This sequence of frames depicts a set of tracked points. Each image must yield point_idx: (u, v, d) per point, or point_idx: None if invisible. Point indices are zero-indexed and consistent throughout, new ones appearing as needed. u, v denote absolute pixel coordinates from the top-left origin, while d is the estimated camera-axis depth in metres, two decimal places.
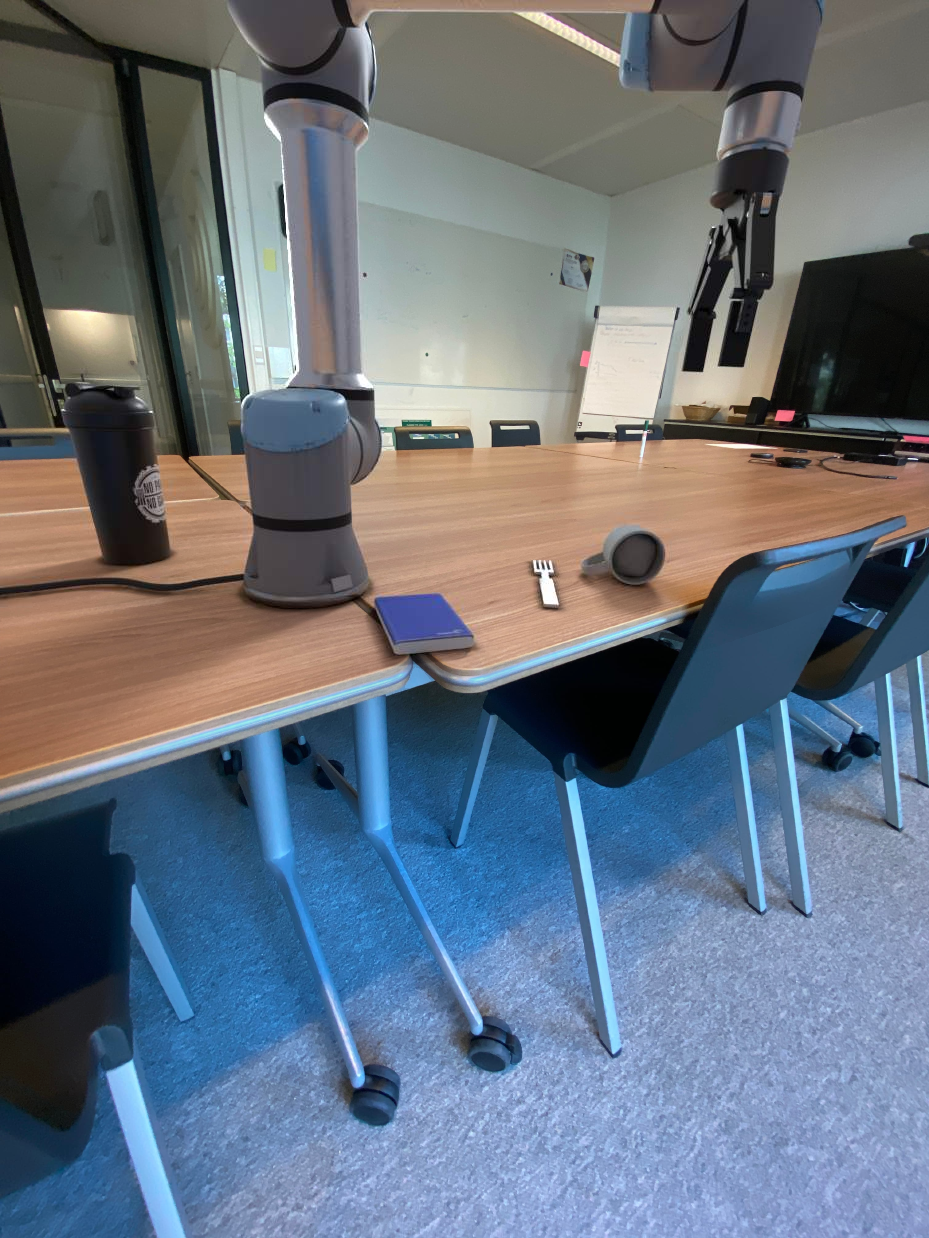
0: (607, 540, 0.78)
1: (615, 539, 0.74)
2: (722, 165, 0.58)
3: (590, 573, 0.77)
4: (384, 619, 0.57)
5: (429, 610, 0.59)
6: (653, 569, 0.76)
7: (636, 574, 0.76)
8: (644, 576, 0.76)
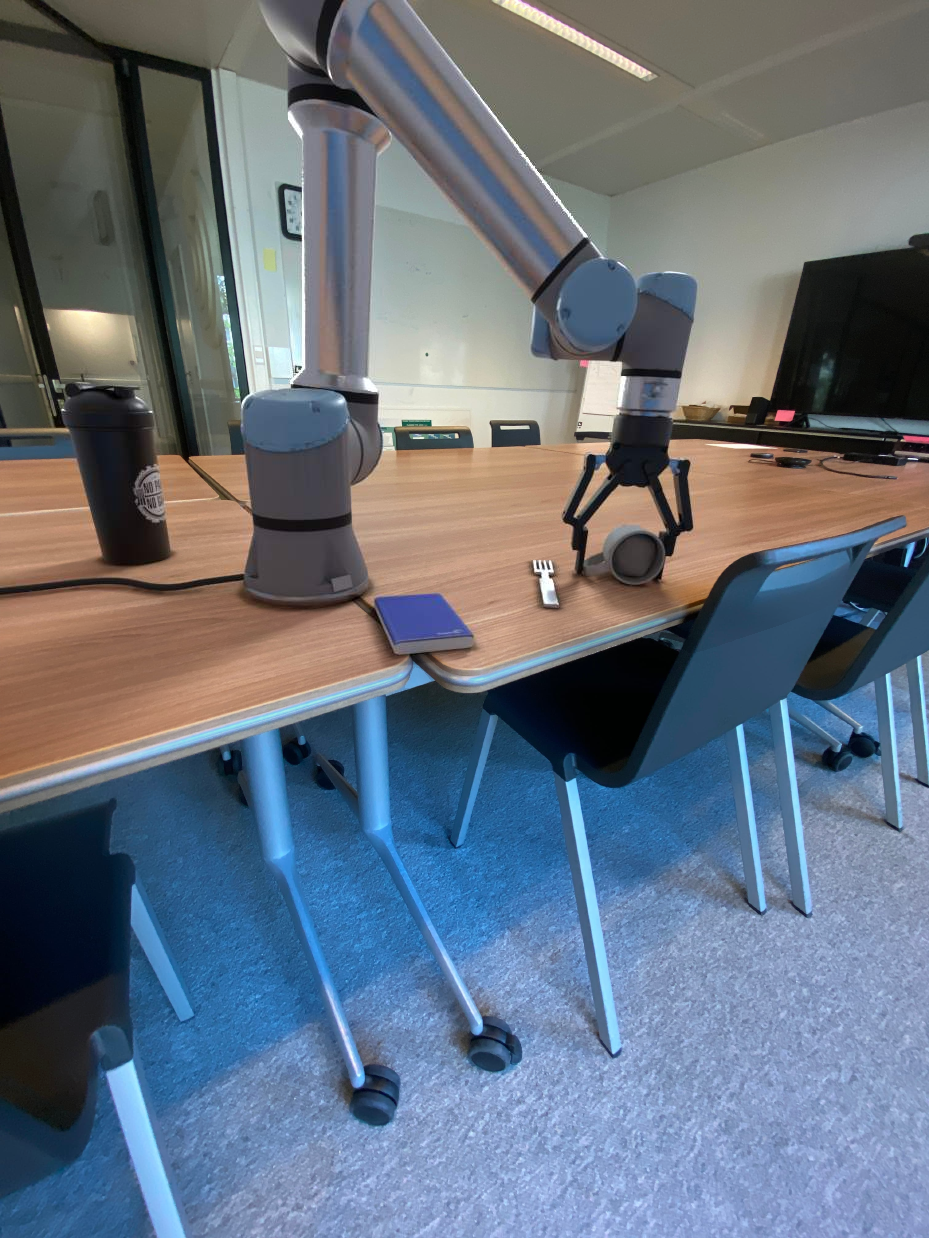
0: (607, 540, 0.78)
1: (615, 539, 0.74)
2: None
3: (590, 573, 0.77)
4: (384, 619, 0.57)
5: (429, 610, 0.59)
6: (653, 569, 0.76)
7: (636, 574, 0.76)
8: (644, 576, 0.76)
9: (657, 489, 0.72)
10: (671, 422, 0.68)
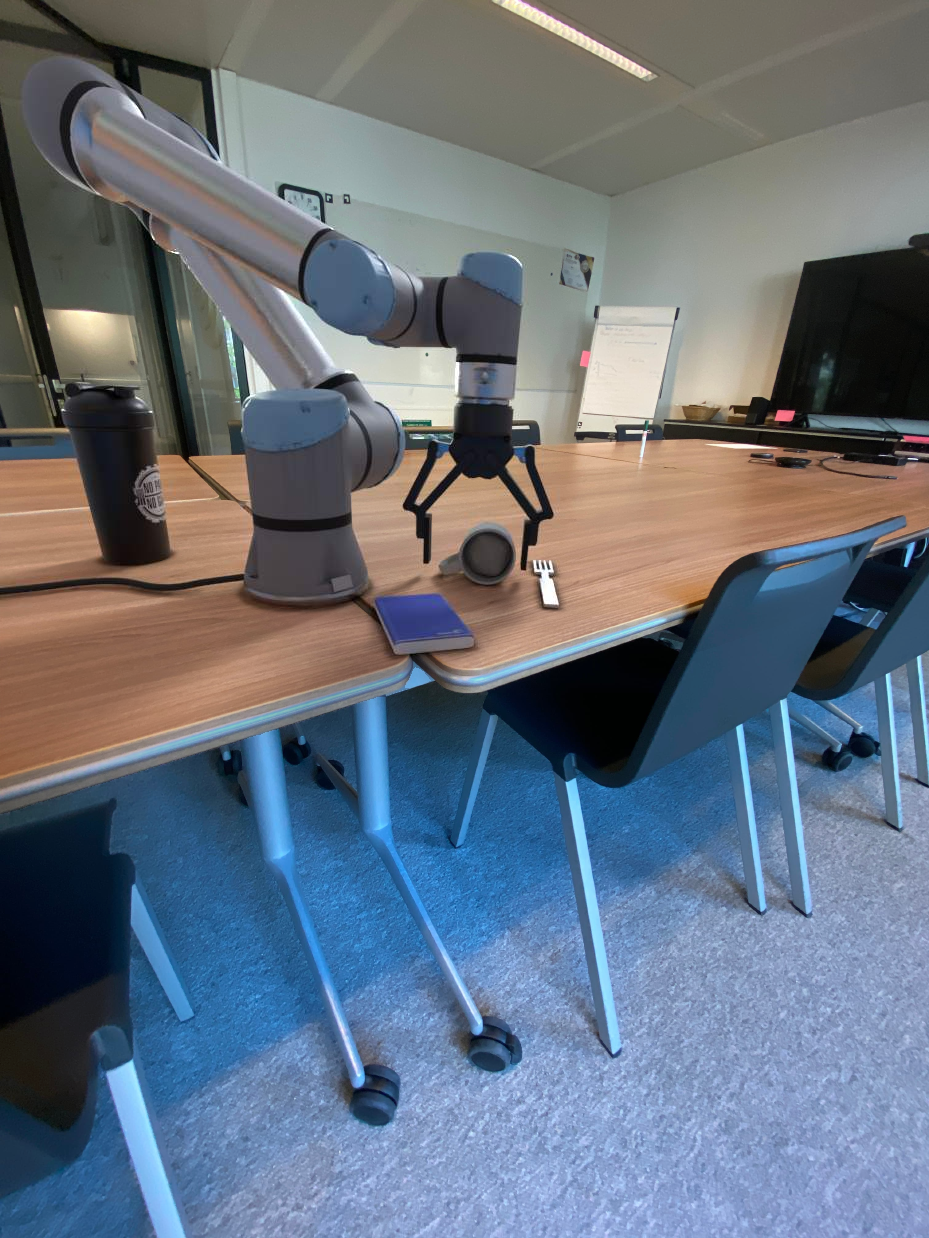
0: None
1: None
2: None
3: (444, 572, 0.74)
4: (384, 619, 0.57)
5: (429, 610, 0.59)
6: (508, 568, 0.73)
7: (491, 573, 0.73)
8: (499, 576, 0.73)
9: (506, 478, 0.69)
10: (508, 410, 0.65)
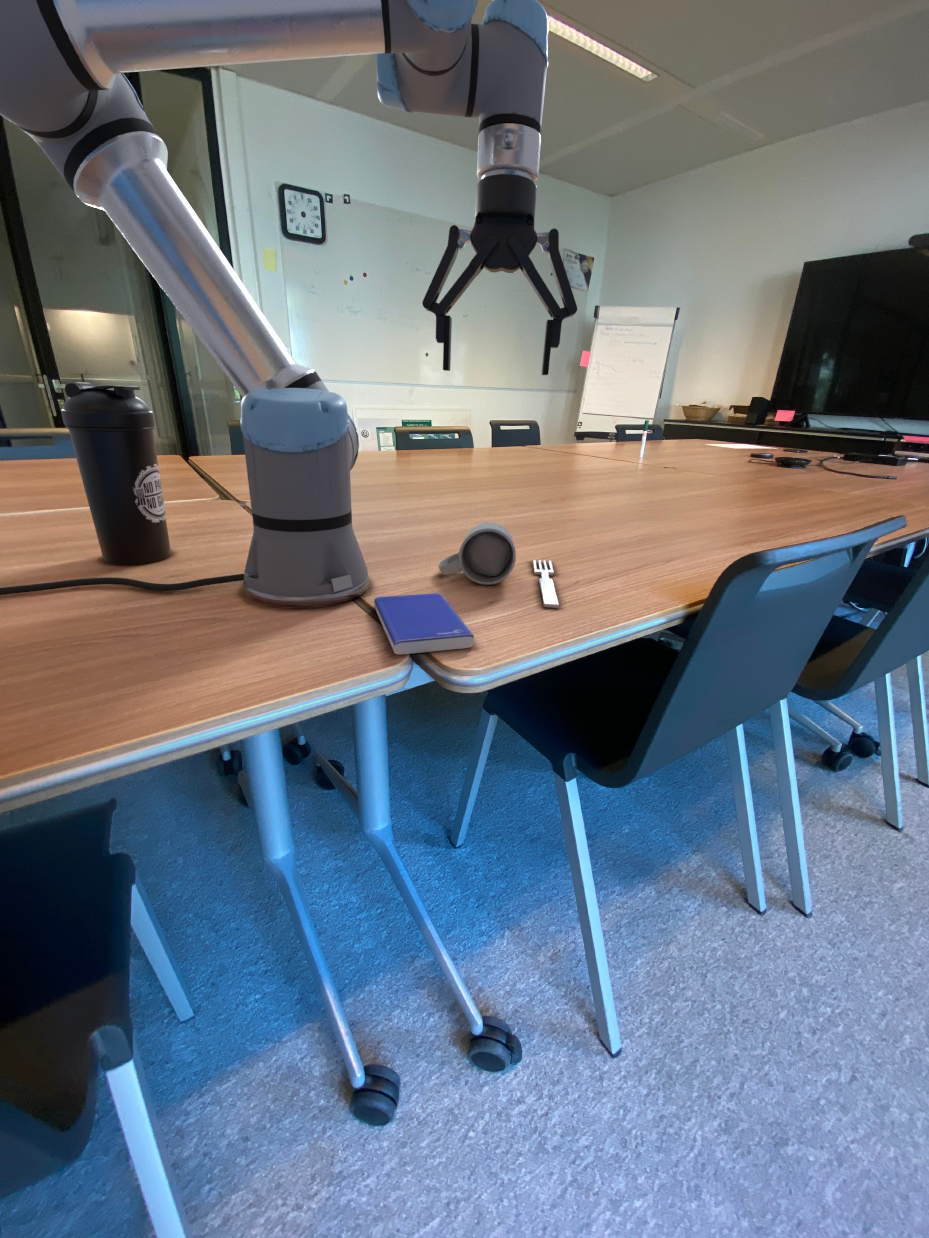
0: None
1: None
2: None
3: (444, 572, 0.74)
4: (384, 619, 0.56)
5: (429, 610, 0.59)
6: (508, 568, 0.73)
7: (491, 573, 0.73)
8: (499, 576, 0.73)
9: (529, 266, 0.67)
10: (532, 184, 0.63)
